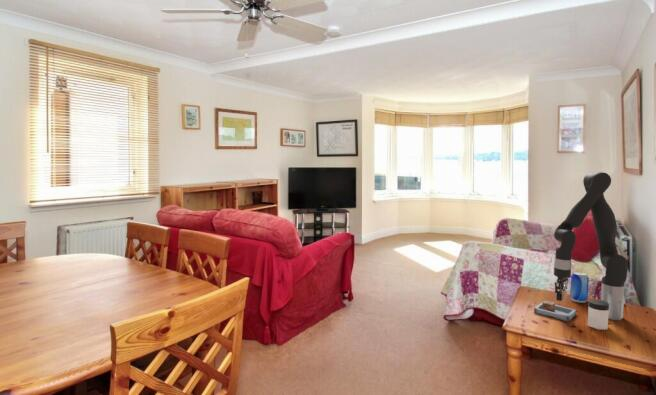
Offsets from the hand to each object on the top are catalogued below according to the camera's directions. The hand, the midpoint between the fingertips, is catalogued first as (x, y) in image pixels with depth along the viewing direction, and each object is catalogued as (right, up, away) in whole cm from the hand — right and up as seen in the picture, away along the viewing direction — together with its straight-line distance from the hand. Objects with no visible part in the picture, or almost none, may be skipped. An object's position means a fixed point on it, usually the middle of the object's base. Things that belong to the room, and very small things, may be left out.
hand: (560, 299), depth 196 cm
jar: (+10, -10, -13) cm, 19 cm away
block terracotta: (0, 0, 0) cm, 0 cm away
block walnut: (-3, -8, +5) cm, 9 cm away
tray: (-1, -8, +3) cm, 9 cm away
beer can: (+23, -7, +20) cm, 31 cm away
